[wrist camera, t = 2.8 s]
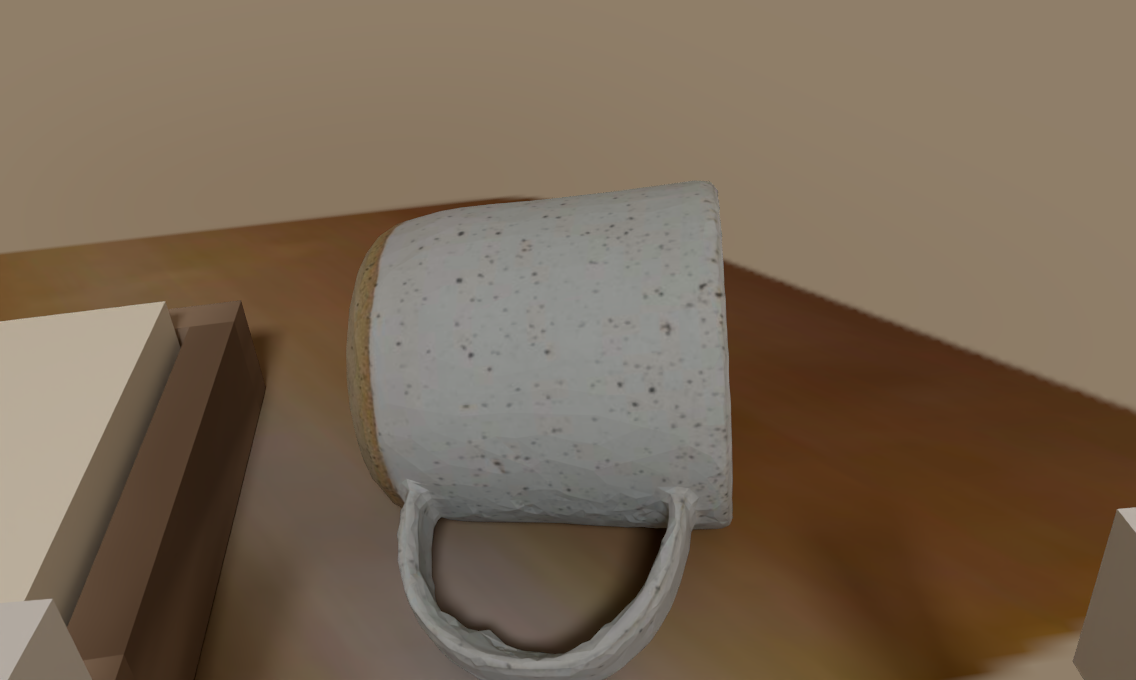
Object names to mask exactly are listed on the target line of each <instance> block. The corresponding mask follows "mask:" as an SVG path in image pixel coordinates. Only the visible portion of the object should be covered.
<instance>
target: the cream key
mask: <svg viewBox="0 0 1136 680" xmlns="http://www.w3.org/2000/svg"><path fill="white" fill-rule="evenodd" d="M180 349H181V348H180V345H179V342H178V339H177V336H176V333H175V329H174V326H173V323H172V320H171V317H170V314H169V311H168V308H167V305H166V302H165V301H164V302H156V303H148V304H140V305H132V306H123V307H115V308H107V309H99V310H91V311H83V312H74V313H66V314H58V315H50V316H42V317H34V318H26V319H17V320H9V321H1V322H0V603H7V602H19V601H31V600H43V599H53V601H54V603H55V605H56V607H57V609H58V611H59V613H60V615H61V617H62V619H63V621H64V623H65V625H66V627H68V624H69V622H70V619H71V617H72V614H73V612H74V609H75V607H76V604H77V602H78V600H79V597H80V595H81V592H82V590H83V587H84V585H85V582H86V580H87V577H88V575H89V573H90V570H91V568H92V565H93V563H94V560H95V558H96V555H97V553H98V550H99V548H100V545H101V543H102V541H103V538H104V536H105V533H106V531H107V528H108V526H109V523H110V521H111V518H112V516H113V514H114V511H115V509H116V506H117V504H118V501H119V499H120V496H121V494H122V491H123V489H124V486H125V484H126V482H127V479H128V477H129V474H130V472H131V469H132V467H133V464H134V462H135V459H136V457H137V455H138V452H139V450H140V447H141V445H142V442H143V440H144V437H145V435H146V432H147V430H148V427H149V425H150V423H151V420H152V418H153V415H154V413H155V410H156V408H157V405H158V403H159V400H160V398H161V396H162V393H163V391H164V388H165V386H166V383H167V381H168V378H169V376H170V373H171V371H172V368H173V366H174V364H175V361H176V359H177V356H178V354H179V351H180Z"/></svg>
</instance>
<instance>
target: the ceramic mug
mask: <svg viewBox="0 0 1136 680" xmlns="http://www.w3.org/2000/svg"><path fill="white" fill-rule="evenodd" d="M719 209H720V207H719V200H718V190H717V189H716V188H715V187H714V185H713V184H712V183H711V182H707V181H689V182H682V183H674V184H668V185H660V186H652V187H645V188H637V189H630V190H623V191H615V192H606V193H598V194H589V195H580V196H572V197H563V198H554V199H545V200H536V201H526V202H514V203H501V204H489V205H481V206H473V207H464V208H457V209H451V210H446V211H440V212H437V213H433V214H430V215H426V216H422V217H419V218H416V219H412V220H409V221H406V222H402V223H399V224H397V225H395V226H394V227H392V228H391V229H389V230H388V231H386V232H385V233H384V234H382V235H381V236H379V237H378V239H377V240H376V241H375V243H374V244H373V245H372V247H371V248H370V250H369V251H368V252H367V254H366V256H365V258H364V260H363V263H362V265H361V267H360V269H359V271H358V275H357V279H356V283H355V287H354V292H353V296H352V301H351V305H350V309H349V323H348V336H347V350H346V357H347V384H348V393H349V403H350V410H351V414H352V419H353V423H354V428H355V432H356V437H357V440H358V444H359V447H360V451H361V454H362V457H363V459H364V461H365V464H366V466H367V468H368V470H369V472H370V474H371V476H372V478H373V479H374V480H375V481H376V483H377V484H378V485H379V486H380V487H381V489H382V490H383V491H384V492H385V493H386V495H387V496H388V497H389V498H390V499H391V501H392V502H393V503H394V504H396V505H398V506H399V507H401V508H402V510H401V515H400V525H399V529H398V533H397V537H398V564H399V568H400V572H401V576H402V580H403V585H404V589H405V593H406V596H407V599H408V602H409V604H410V606H411V608H412V610H413V612H414V614H415V616H416V618H417V620H418V622H419V624H420V626H421V627H422V629H423V630H424V631H425V632H426V633H427V635H428V636H429V637H430V638H431V640H432V641H433V642H434V643H435V644H436V646H437V647H438V648H439V649H440V650H441V651H442V652H443V653H444V654H445V655H446V656H447V657H448V658H449V659H450V660H451V661H452V662H453V663H455V664H456V665H458V666H459V667H461V668H463V669H464V670H466V671H467V672H469V673H471V674H472V675H474V676H475V677H477V678H479V679H480V680H603V679H605V678H607V677H609V676H611V675H612V674H614V673H615V672H617V671H618V670H620V669H621V668H622V667H623V666H625V665H626V664H627V663H628V662H629V661H630V660H631V659H632V658H633V657H634V656H636V655H637V654H638V653H639V652H640V651H641V650H642V649H644V648H645V647H646V645H647V644H648V643H649V642H650V641H651V640H652V638H653V637H654V635H655V634H656V632H657V631H658V629H659V628H660V626H661V624H662V623H663V621H664V619H665V617H666V616H667V614H668V612H669V610H670V609H671V607H672V604H673V601H674V599H675V596H676V593H677V591H678V588H679V585H680V582H681V578H682V575H683V571H684V568H685V564H686V560H687V557H688V553H689V548H690V537H691V531H692V529H718V528H723V527H726V526H728V525H730V522H731V520H732V436H731V401H730V389H729V354H728V344H727V324H726V302H725V289H724V270H723V254H722V232H721V222H720V215H719ZM441 517H442V518H447V519H451V520H460V521H478V522H550V523H569V524H582V525H597V526H618V527H649V528H667V531H666V534H665V536H664V538H663V540H662V542H661V546H660V550H659V552H658V555H657V557H656V559H655V561H654V564H653V566H652V568H651V571H650V573H649V575H648V578H647V580H646V582H645V584H644V586H643V587H642V589H641V590H640V592H639V593H638V595H637V596H636V598H635V599H634V600H633V601H632V602H631V603H630V604H629V605H627V606H626V607H625V608H624V609H623V610H622V612H621V613H620V614H619V615H618V616H617V617H616V618H615V619H614V620H613V621H612V622H610V623H608V624H605V625H604V626H603V627H602V628H601V629H600V630H599V631H598V632H597V633H596V635H595V636H594V637H593V638H592V639H591V640H589V641H587V642H584V643H582V644H580V645H579V646H577V647H576V648H574V649H572V650H570V651H568V652H566V653H564V654H549V653H541V652H532V651H522V650H519V649H517V648H514V647H511V646H508V645H505V644H504V643H503V642H502V641H501V640H500V639H499V638H498V637H497V636H496V635H495V634H494V633H492V632H491V631H490V630H484V631H476V630H471V629H467V628H466V627H465V626H463V625H462V624H461V623H460V622H459V621H457V620H456V619H455V618H454V617H452V616H451V615H449V614H446V613H444V612H442V611H441V610H440V608H439V606H438V605H437V603H436V598H435V586H434V583H433V580H432V553H431V549H432V541H433V533H434V527H435V525H436V523H437V521H438V520H439V519H440V518H441Z"/></svg>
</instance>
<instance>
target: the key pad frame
mask: <svg viewBox="0 0 1136 680" xmlns="http://www.w3.org/2000/svg"><path fill="white" fill-rule="evenodd" d="M168 311H169V314H170V317H171V320H172V323H173V326H174V329H175V333H176V336H177V339H178V342H179V345H180V348H181V349H180V351H179V354H178V356H177V359H176V361H175V364H174V366H173V368H172V371H171V373H170V376H169V378H168V381H167V383H166V386H165V388H164V391H163V393H162V396H161V398H160V400H159V403H158V405H157V408H156V410H155V413H154V415H153V418H152V420H151V423H150V425H149V427H148V430H147V432H146V435H145V437H144V440H143V442H142V445H141V447H140V450H139V452H138V455H137V457H136V459H135V462H134V464H133V467H132V469H131V472H130V474H129V477H128V479H127V482H126V484H125V486H124V489H123V491H122V494H121V496H120V499H119V501H118V504H117V506H116V509H115V511H114V514H113V516H112V518H111V521H110V523H109V526H108V528H107V531H106V533H105V536H104V538H103V541H102V543H101V545H100V548H99V550H98V553H97V555H96V558H95V560H94V563H93V565H92V568H91V570H90V573H89V575H88V577H87V580H86V582H85V585H84V587H83V590H82V592H81V595H80V597H79V600H78V602H77V604H76V607H75V609H74V612H73V614H72V617H71V619H70V622H69V624H68V627H67V629H68V631H69V633H70V635H71V637H72V639H73V641H74V643H75V646H76V648H77V650H78V652H79V654H80V656H81V658H82V660H83V662H84V664H85V666H86V668H87V670H88V672H89V674H90V676H91V678H92V680H194V677H195V673H196V669H197V665H198V661H199V657H200V653H201V649H202V644H203V640H204V636H205V632H206V628H207V624H208V620H209V616H210V612H211V608H212V604H213V600H214V596H215V592H216V588H217V583H218V579H219V575H220V571H221V567H222V563H223V559H224V555H225V551H226V547H227V543H228V539H229V535H230V531H231V527H232V523H233V518H234V514H235V510H236V506H237V502H238V498H239V494H240V490H241V486H242V482H243V478H244V474H245V470H246V466H247V462H248V457H249V453H250V449H251V445H252V441H253V437H254V433H255V429H256V425H257V421H258V417H259V413H260V409H261V405H262V401H263V396H264V392H265V388H266V387H265V384H264V380H263V376H262V373H261V369H260V366H259V362H258V359H257V355H256V352H255V348H254V345H253V341H252V338H251V334H250V330H249V327H248V323H247V320H246V316H245V313H244V309H243V306H242V302H241V300H240V301H232V302H224V303H216V304H208V305H200V306H192V307H184V308H176V309H168Z"/></svg>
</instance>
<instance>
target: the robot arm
mask: <svg viewBox="0 0 1136 680" xmlns="http://www.w3.org/2000/svg"><path fill="white" fill-rule="evenodd" d="M1073 663H1074V664H1075V666H1076V668H1077V669H1078V671H1079V672H1080V674H1081V676H1082V678H1083V679H1084V680H1136V508H1124V509H1117V512H1116V515H1115V518H1114V522H1113V525H1112V529H1111V532H1110V536H1109V539H1108V543H1107V546H1106V549H1105V553H1104V556H1103V560H1102V563H1101V567H1100V570H1099V573H1098V577H1097V580H1096V584H1095V587H1094V591H1093V594H1092V597H1091V601H1090V604H1089V608H1088V611H1087V615H1086V618H1085V621H1084V625H1083V628H1082V632H1081V635H1080V639H1079V642H1078V645H1077V649H1076V652H1075V656H1074V659H1073ZM0 680H92V678H91V676H90V674H89V672H88V670H87V668H86V666H85V664H84V662H83V660H82V658H81V656H80V654H79V652H78V650H77V648H76V646H75V643H74V641H73V639H72V637H71V635H70V633H69V631H68V629H67V627H66V625H65V623H64V621H63V619H62V617H61V615H60V613H59V611H58V609H57V607H56V605H55V603H54V601H53V599H43V600H31V601H19V602H7V603H0Z"/></svg>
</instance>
